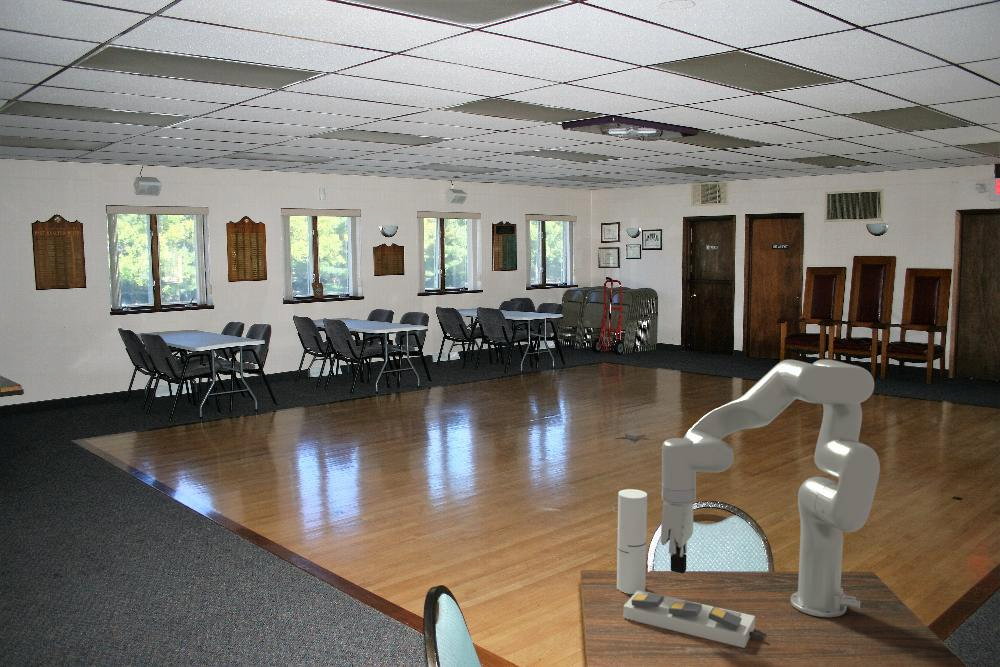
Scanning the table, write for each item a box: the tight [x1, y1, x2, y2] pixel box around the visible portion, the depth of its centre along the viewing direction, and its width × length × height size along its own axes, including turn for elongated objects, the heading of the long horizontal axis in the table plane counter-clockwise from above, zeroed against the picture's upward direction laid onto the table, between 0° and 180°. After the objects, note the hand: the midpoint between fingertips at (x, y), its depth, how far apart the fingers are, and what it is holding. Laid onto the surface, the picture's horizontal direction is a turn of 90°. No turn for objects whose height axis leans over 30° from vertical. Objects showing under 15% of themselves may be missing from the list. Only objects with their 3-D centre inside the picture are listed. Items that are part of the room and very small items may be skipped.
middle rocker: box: [669, 602, 702, 617], centre depth 184 cm, size 6×4×1 cm, turn 60°
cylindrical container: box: [616, 488, 648, 595], centre depth 203 cm, size 7×7×25 cm
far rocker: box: [631, 594, 664, 607], centre depth 188 cm, size 6×4×1 cm, turn 60°
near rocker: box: [708, 606, 742, 630], centre depth 179 cm, size 6×4×1 cm, turn 61°
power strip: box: [622, 590, 765, 649], centre depth 185 cm, size 31×10×3 cm, turn 60°
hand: (678, 570), depth 184 cm, fingers closed
